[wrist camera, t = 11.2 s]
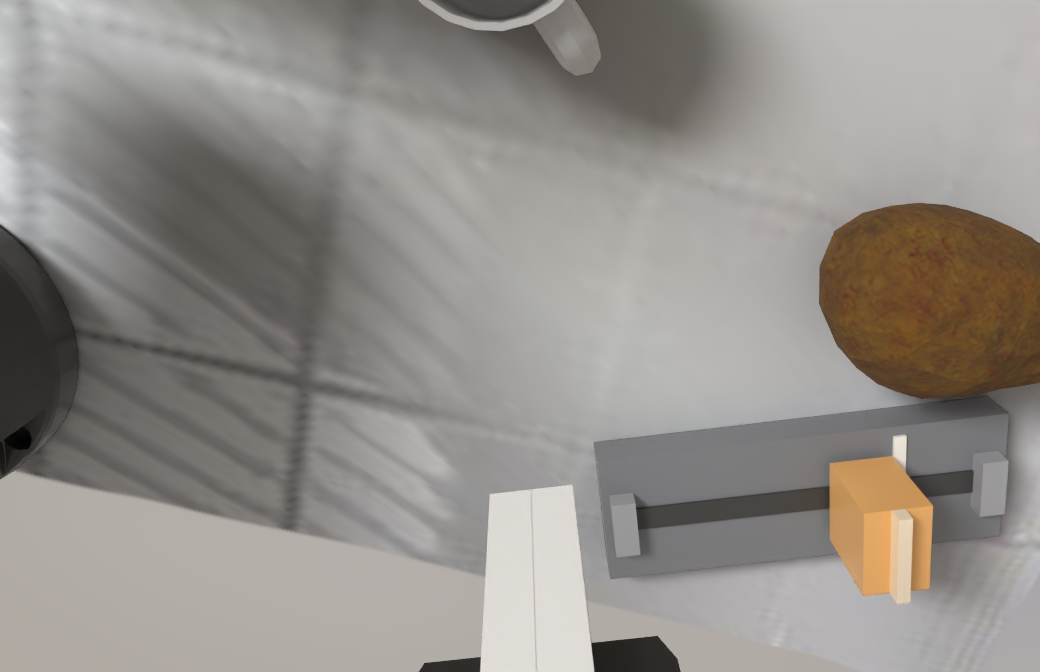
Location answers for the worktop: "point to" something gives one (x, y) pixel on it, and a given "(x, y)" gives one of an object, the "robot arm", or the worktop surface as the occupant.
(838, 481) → the slider
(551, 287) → the worktop surface
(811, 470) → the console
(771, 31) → the worktop surface
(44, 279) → the robot arm
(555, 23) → the cup
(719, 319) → the worktop surface
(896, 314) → the potato
